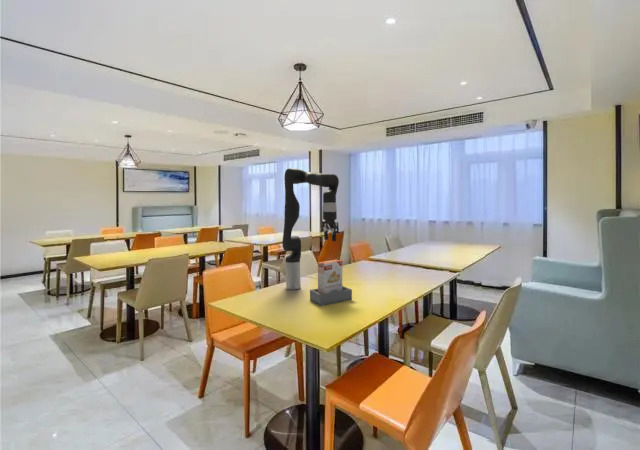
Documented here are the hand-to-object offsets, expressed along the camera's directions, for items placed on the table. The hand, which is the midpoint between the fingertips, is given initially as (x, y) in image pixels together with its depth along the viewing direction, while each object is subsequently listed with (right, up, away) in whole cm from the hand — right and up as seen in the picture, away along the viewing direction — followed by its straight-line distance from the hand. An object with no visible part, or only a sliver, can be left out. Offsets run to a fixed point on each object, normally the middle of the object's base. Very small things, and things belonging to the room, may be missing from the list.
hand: (330, 240), depth 185 cm
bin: (+1, -33, +3) cm, 34 cm away
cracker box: (0, -33, +3) cm, 33 cm away
